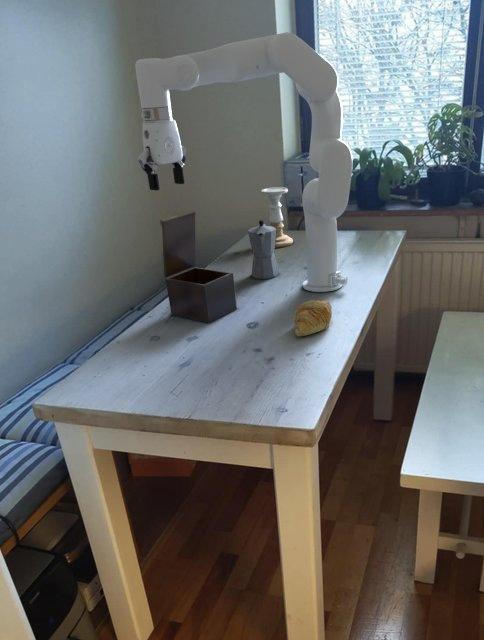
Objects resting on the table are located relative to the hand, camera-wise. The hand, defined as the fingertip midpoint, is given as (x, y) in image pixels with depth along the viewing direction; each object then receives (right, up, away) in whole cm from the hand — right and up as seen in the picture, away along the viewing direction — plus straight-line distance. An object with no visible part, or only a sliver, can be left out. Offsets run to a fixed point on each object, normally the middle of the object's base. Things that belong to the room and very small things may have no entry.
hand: (167, 186), depth 165 cm
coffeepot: (+26, -12, +43) cm, 52 cm away
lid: (+2, -13, +8) cm, 15 cm away
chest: (+8, -31, +15) cm, 35 cm away
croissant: (+40, -38, 0) cm, 55 cm away
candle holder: (+31, +10, +76) cm, 83 cm away
